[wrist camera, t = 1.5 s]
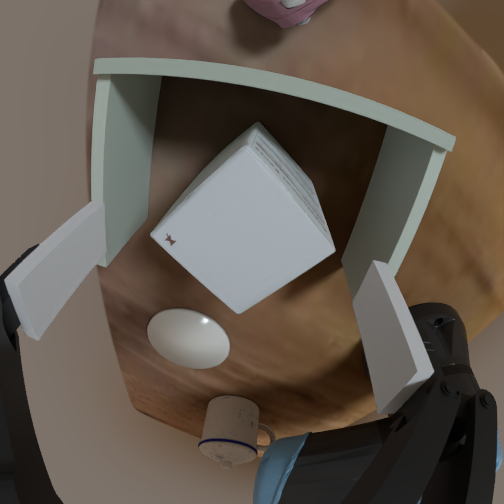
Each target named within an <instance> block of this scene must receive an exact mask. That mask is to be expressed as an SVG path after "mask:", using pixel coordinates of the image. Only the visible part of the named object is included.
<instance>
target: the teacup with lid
mask: <svg viewBox="0 0 504 504" xmlns="http://www.w3.org/2000/svg"><path fill="white" fill-rule="evenodd" d="M258 428H260V429H263V430H265V431H266V432H267V433H268V434H269V436H270V441H271V442H270V444H271V443H273V442H274V441H276V437H275V434H274V432H273V430H272V429H271V428H270V427H269V426H267V425H265V424H262V423H259V408H258V406H257V405H256V404H255V403H254V402H252V401H250V400H248V399H246V398H243V397H239V396H230V395H226V396H219V397H216V398H214V399H212V400H211V401H210V402H209V404H208V408H207V413H206V418H205V423H204V428H203V433H202V438H201V442H200V443H199V445H198V447H199V450H200V452H201V453H202V454H203V455H204V456H206V457H208V458H210V459H212V460H214V461H215V462H217V463H219V467H220V468H221V469H224V470H229V469H231V468H232V465H237V464H240V463H247V462H250V461H252V460H254V459H255V457H256V456H257V453H258V452H257V450H260V451H266V449H267V448H268V447H269V445H267V446H261V445H257V435H258Z"/></svg>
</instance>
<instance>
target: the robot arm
mask: <svg viewBox="0 0 504 504" xmlns="http://www.w3.org/2000/svg"><path fill="white" fill-rule="evenodd" d="M106 252H107V247H106V230H105V203H100V202H94V201H91V202H90V203H89V204H87V205H86V206H85V207H84V208H82V209H81V210H80V211H79V212H77V213H76V214H75V215H74V216H73V217H71V218H70V219H69V220H68V221H67V222H65V223H64V224H63V225H62V226H61V227H59V228H58V229H57V230H56V231H55V232H54V233H53V234H52V235H51V236H49V237H48V238H47V239H46V240H45V241H44V242H42V243H41V244H37V245H35V246H33V247H31V248H29V249H28V250H27V251H26V252H25V253H23V254H22V255H21V257H20V258H18V259H17V260H16V261H15V263H13V264H12V265H11V266H10V267H9V268H8V269H7V270H6V271H5V272H4V273H3V274H2V275H1V276H0V504H63V502H62V501H61V499H60V498H59V497H58V496H57V494H56V492H55V490H54V488H53V486H52V484H51V481H50V478H49V475H48V472H47V470H46V467H45V464H44V461H43V458H42V455H41V452H40V448H39V445H38V442H37V438H36V434H35V430H34V427H33V422H32V418H31V414H30V410H29V405H28V400H27V395H26V390H25V384H24V378H23V371H22V364H21V356H20V346H19V336H18V333H17V331H16V330H17V328H18V327H19V326H20V324H21V327H22V329H23V331H24V334H25V335H27V336H29V337H31V338H33V339H35V340H37V341H39V340H40V338H41V337H42V335H43V334H44V332H45V331H46V329H47V328H48V326H49V325H50V324H51V322H52V321H53V320H54V318H55V317H56V315H57V314H58V313H59V311H60V310H61V309H62V307H63V306H64V304H65V303H66V302H67V300H68V299H69V298H70V297H71V295H72V294H73V293H74V291H75V290H76V289H77V287H78V286H79V285H80V283H81V282H82V281H83V280H84V278H85V277H86V276H87V275H88V273H89V272H90V271H91V270H92V269H93V267H94V266H95V265H96V264H97V262H98V261H99V260H100V259H101V258H102V256H103V255H104V254H105V253H106ZM352 304H353V308H354V312H355V316H356V319H357V323H358V327H359V331H360V335H361V339H362V343H363V347H364V349H363V354H362V360H363V365H364V370H365V374H366V376H367V378H368V380H369V381H370V383H371V384H372V388H373V392H374V397H375V402H376V408H377V413H378V414H388V416H389V417H388V418H384V419H380V420H376V421H372V422H368V423H363V424H359V425H354V426H349V427H344V428H339V429H334V430H328V431H322V432H316V433H312V432H307V433H305V434H303V435H298V436H292V437H286V438H281V439H278V440H276V441H274V442H273V443H271V444H270V445H269V447H268V448H267V449H266V451H265V452H264V454H263V456H262V458H261V461H260V464H259V467H258V470H257V474H256V478H255V484H254V492H253V504H492V499H493V492H494V484H495V473H496V472H497V471H498V469H499V468H500V466H501V463H502V458H503V456H502V451H501V446H500V442H499V438H498V430H497V406H496V401H495V399H494V397H493V395H492V394H491V393H490V392H488V391H487V390H484V389H480V387H479V385H478V383H477V380H476V378H475V376H474V374H473V372H472V369H471V367H470V363H469V362H470V361H469V351H468V343H467V335H466V329H465V326H464V323H463V322H462V320H461V318H460V316H459V315H458V313H457V311H456V310H455V309H453V308H452V307H451V306H449V305H446V304H442V303H426V304H421V305H417V306H414V307H411V308H408V307H407V305H406V303H405V300H404V298H403V296H402V294H401V292H400V290H399V288H398V286H397V283H396V281H395V279H394V277H393V275H392V273H391V271H390V269H389V267H388V265H387V263H384V262H380V261H375V260H373V261H372V263H371V265H370V268H369V270H368V272H367V274H366V276H365V278H364V280H363V282H362V284H361V286H360V289H359V291H358V293H357V295H356V297H355V299H354V301H353V303H352Z"/></svg>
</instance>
